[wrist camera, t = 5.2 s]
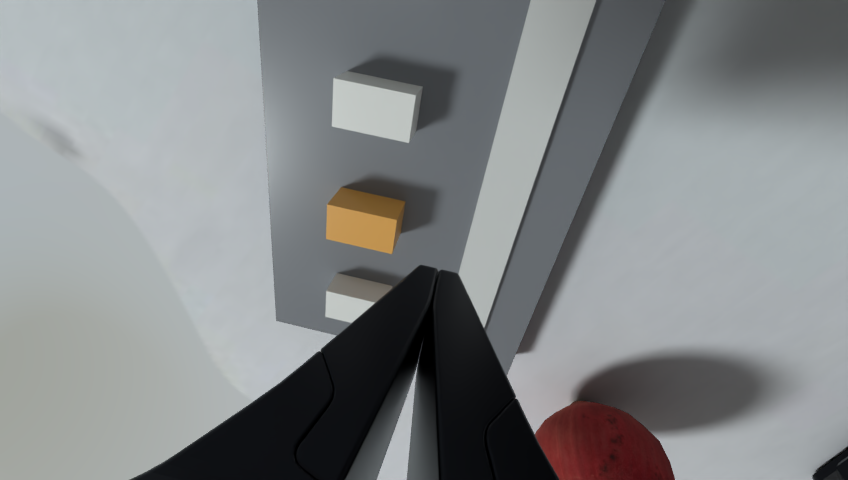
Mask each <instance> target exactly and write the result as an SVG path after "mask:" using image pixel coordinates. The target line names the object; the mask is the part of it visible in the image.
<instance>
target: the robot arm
mask: <svg viewBox="0 0 848 480" xmlns="http://www.w3.org/2000/svg"><path fill="white" fill-rule="evenodd" d="M422 342H423V343H422ZM420 351H421V352H420ZM419 355H420V356H419ZM418 360H419V361H418ZM417 364H418V367H417ZM416 367H417V373H416V382H415V394H414V405H413V416H412V427H411V439H410V450H409V461H408V473H407V480H560V479H559V477H558V476H557V474H556V472H555V471H554V469H553V467H552V465H551V464H550V462H549V460H548V458H547V457H546V455H545V453H544V451H543V450H542V448H541V446H540V444H539V442H538V440H537V438H536V436H535V434H534V432H533V430H532V428H531V426H530V424H529V422H528V420H527V418H526V416H525V414H524V412H523V410H522V408H521V406H520V403H519V401H518V400H517V399H515V398H516V395H515V393H514V391H513V389H512V387H511V385H510V382H509V380H508V378H507V376H506V374H505V372H504V370H503V368H502V365H501V363H500V361H499V359H498V357H497V355H496V353H495V350H494V348H493V346H492V344H491V342H490V340H489V338H488V336H487V333H486V331H485V329H484V327H483V325H482V323H481V321H480V318H479V316H478V314H477V312H476V310H475V308H474V306H473V304H472V301H471V299H470V297H469V295H468V293H467V291H466V289H465V287H464V284H463V282H462V280H461V278H460V276H459V274H458V273H456V272H452V271H447V270H443V269H441V270H440V271H439V272H438V269H437V268H434V267H430V266H425V265H419V266H418V267H416V268H415V269H414V270H413V271H412V272H411V273H409V274H408V275H407V276H406V277H405V278H404V279H402V280H401V281H400V282H399V283H398V284H397V285H395V286H394V287H393V288H392V289H391V290H390V291H388V292H387V293H386V294H385V295H384V296H383V297H381V298H380V299H379V300H378V301H377V302H376V303H374V304H373V305H372V306H371V307H370V308H368V309H367V310H366V311H365V312H364V313H363V314H361V315H360V316H359V317H358V318H357V319H356V320H354V321H353V322H352V323H351V324H350V325H349V326H347V327H346V328H345V329H344V330H343V331H342V332H340V333H339V334H338V335H337V336H336V337H335V338H333V339H332V340H331V341H330V342H329V343H328V344H326V345H325V346H324V347H323V348H322V349H321V352H320V351H318V352H317V353H316V354H314V355H313V356H312V357H311V358H310V359H309V360H307V361H306V362H305V363H304V364H303V365H302V366H300V367H299V368H298V369H297V370H295V371H294V372H293V373H292V374H290V375H289V376H288V377H287V378H285V379H284V380H283V381H282V382H280V383H279V384H278V385H276V386H275V387H273V388H272V389H271V390H269V391H268V392H266V393H265V394H263V395H262V396H261V397H259V398H258V399H256V400H255V401H254V402H252V403H251V404H249V405H248V406H246V407H245V408H243V409H242V410H241V411H239V412H238V413H236V414H235V415H233V416H232V417H230V418H229V419H227V420H226V421H224V422H223V423H221V424H220V425H218V426H217V427H215V428H214V429H212V430H211V431H209V432H208V433H207V434H205V435H204V436H202V437H201V438H199V439H198V440H196V441H195V442H193V443H192V444H190V445H189V446H187V447H186V448H184V449H183V450H181V451H180V452H179V453H177V454H176V455H174V456H173V457H171V458H169V459H168V460H166V461H165V462H163V463H161V464H160V465H158V466H156V467H154V468H152V469H151V470H149V471H147V472H145V473H143V474H141V475H139V476H137V477H134V478H132V479H130V480H376V479H377V477H378V474H379V471H380V468H381V466H382V463H383V460H384V457H385V455H386V452H387V449H388V446H389V444H390V441H391V438H392V435H393V433H394V430H395V427H396V424H397V421H398V419H399V416H400V413H401V410H402V408H403V405H404V402H405V399H406V397H407V394H408V391H409V388H410V386H411V383H412V380H413V377H414V374H415V371H416ZM813 480H848V449H847V450H846V451H845V452H843V453H842V454H841V455H839V456H838V457H837V458H835V459H834V460H832V461H831V462H830V463H828V464H827V465H826V466H824V467H823V468H822V469H820V470H819V471H817V472H816V473H815V474H814V475H813Z"/></svg>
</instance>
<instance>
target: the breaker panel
mask: <svg viewBox="0 0 848 480" xmlns="http://www.w3.org/2000/svg"><path fill="white" fill-rule="evenodd" d="M665 1H666V0H257V3H258V20H259V36H260V53H261V70H262V87H263V104H264V121H265V138H266V155H267V171H268V188H269V205H270V222H271V239H272V256H273V273H274V289H275V306H276V321H280V322H284V323H288V324H292V325H296V326H300V327H304V328H309V329H313V330H317V331H321V332H325V333H329V334H333V335H338V334H339V333H340V332H342V331H343V330H344V329H345V328H346V327H347V326H349V325H350V324H351V323H352V322H353V321H354V320H356V319H357V318H358V317H359V316H360V315H361V314H363V313H364V312H365V311H366V310H367V309H368V308H370V307H371V306H372V305H373V304H374V303H376V302H377V301H378V300H379V299H380V298H381V297H383V296H384V295H385V294H386V293H387V292H388V291H390V290H391V289H392V288H393V287H394V286H395V285H397V284H398V283H399V282H400V281H401V280H402V279H404V278H405V277H406V276H407V275H408V274H409V273H411V272H412V271H413V270H414V269H415V268H416V267H418V266H419V265H425V266H430V267H434V268H437V269H438V272H439V271H440V270H441V269H443V270H447V271H452V272H456V273H458V274H459V276H460V278H461V280H462V282H463V284H464V287H465V289H466V291H467V293H468V295H469V297H470V299H471V301H472V304H473V306H474V308H475V310H476V312H477V314H478V316H479V318H480V321H481V323H482V325H483V327H484V329H485V331H486V333H487V336H488V338H489V340H490V342H491V344H492V346H493V348H494V350H495V353H496V355H497V357H498V359H499V361H500V363H501V365H502V368H503V370H504V372H505V374H506V376H507V374H508V371H509V369H510V366H511V364H512V362H513V359H514V357H515V355H516V352H517V350H518V348H519V345H520V343H521V341H522V338H523V336H524V333H525V331H526V329H527V326H528V324H529V322H530V319H531V317H532V315H533V312H534V310H535V307H536V305H537V303H538V300H539V298H540V296H541V293H542V291H543V289H544V286H545V284H546V282H547V279H548V277H549V274H550V272H551V270H552V267H553V265H554V263H555V260H556V258H557V256H558V253H559V251H560V249H561V246H562V244H563V241H564V239H565V237H566V234H567V232H568V230H569V227H570V225H571V223H572V220H573V218H574V215H575V213H576V211H577V208H578V206H579V204H580V201H581V199H582V197H583V194H584V192H585V190H586V187H587V185H588V182H589V180H590V178H591V175H592V173H593V171H594V168H595V166H596V164H597V161H598V159H599V157H600V154H601V152H602V149H603V147H604V145H605V142H606V140H607V138H608V135H609V133H610V131H611V128H612V126H613V123H614V121H615V119H616V116H617V114H618V112H619V109H620V107H621V105H622V102H623V100H624V98H625V95H626V93H627V90H628V88H629V86H630V83H631V81H632V79H633V76H634V74H635V72H636V69H637V67H638V64H639V62H640V60H641V57H642V55H643V53H644V50H645V48H646V46H647V43H648V41H649V39H650V36H651V34H652V31H653V29H654V27H655V24H656V22H657V20H658V17H659V15H660V13H661V10H662V8H663V6H664V3H665ZM341 187H343V188H347V189H352V190H356V191H361V192H365V193H370V194H374V195H379V196H383V197H388V198H392V199H397V200H401V201H405V208H404V214H403V221H402V227H401V234H400V236H399V239H398V241H397V243H396V246H395V248H394V251H393V253H392V254H389V253H385V252H380V251H376V250H372V249H367V248H363V247H359V246H354V245H350V244H345V243H341V242H337V241H332V240H328V239H326V223H327V204H328V203H329V201H330V200H331V199H332V198H333V196H334V195H335V194H336V193H337V192H338V190H339V189H340V188H341ZM422 343H423V342H422ZM420 352H421V351H420Z"/></svg>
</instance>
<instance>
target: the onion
mask: <svg viewBox="0 0 848 480" xmlns="http://www.w3.org/2000/svg"><path fill="white" fill-rule="evenodd" d="M535 436H536V438H537V440H538V442H539V444H540V446H541V448H542V450H543V451H544V453H545V455H546V457H547V458H548V460H549V462H550V464H551V465H552V467H553V469H554V471H555V472H556V474H557V476H558V477H559V479H560V480H675V478H674V474H673V471H672V468H671V464H670V461H669V459H668V457H667V455H666V453H665V451H664V449H663V447H662V445H661V443H660V441H659V440H658V439H657V438H656V437H655V436H654V435H653V434H652V433H651V432H650V431H649V430H648V429H646V428H645V427H644V426H643V425H642V424H641V423H640V422H638V421H637V420H636V419H635V418H633V417H632V416H631V415H629V414H628V413H626V412H623V411H621V410H619V409H617V408H614V407H611V406H607V405H603V404H600V403H595V402H588V401H575V402H573V403H572V404H571V405H569V406H567V407H565V408H563V409H562V410H560V411H558V412H556V413H554V414H553V415H552V416H550V417H549V418H547V419H546V420H545V421H544V422H543V424H542V425H541V426H540V428H539V429H538V430H537V432H536V434H535Z"/></svg>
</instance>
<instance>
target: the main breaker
mask: <svg viewBox="0 0 848 480" xmlns="http://www.w3.org/2000/svg"><path fill="white" fill-rule="evenodd" d="M404 208H405V201H401V200H397V199H392V198H388V197H383V196H379V195H374V194H370V193H365V192H361V191H356V190H352V189H347V188H343V187H341V188H340V189H339V190H338V192H337V193H336V194H335V195H334V196H333V198H332V199H331V200H330V201H329V203H328V204H327V223H326V239H328V240H332V241H337V242H341V243H345V244H350V245H354V246H359V247H363V248H367V249H372V250H376V251H380V252H385V253H389V254H392V253H393V251H394V248H395V246H396V243H397V241H398V239H399V236H400V234H401V227H402V221H403V214H404Z"/></svg>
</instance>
